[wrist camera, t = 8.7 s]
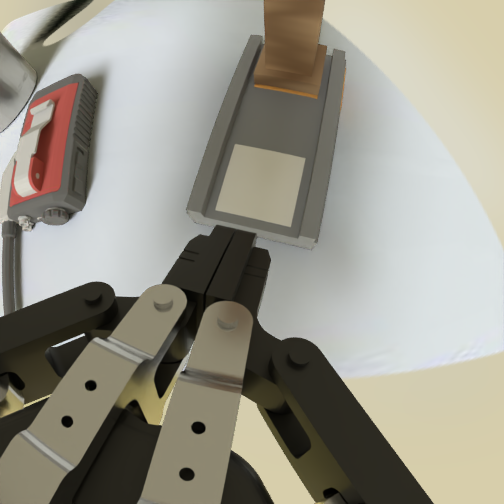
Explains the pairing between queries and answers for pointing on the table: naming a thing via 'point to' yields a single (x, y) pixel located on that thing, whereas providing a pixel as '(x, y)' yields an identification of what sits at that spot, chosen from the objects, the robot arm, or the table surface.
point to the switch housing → (270, 155)
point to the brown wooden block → (292, 46)
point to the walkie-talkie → (46, 166)
